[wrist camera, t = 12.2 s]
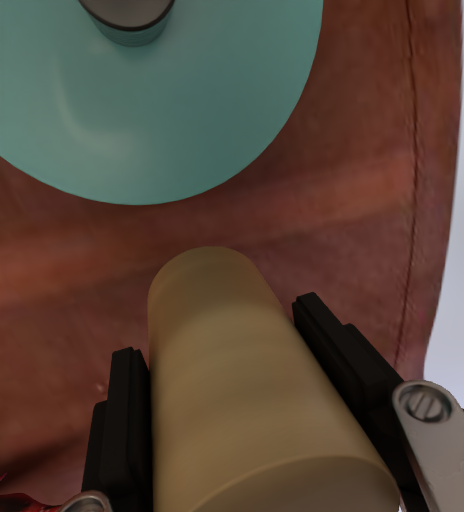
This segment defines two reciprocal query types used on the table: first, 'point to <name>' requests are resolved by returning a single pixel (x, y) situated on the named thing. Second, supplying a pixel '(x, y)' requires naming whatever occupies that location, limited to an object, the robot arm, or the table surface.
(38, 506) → the decorative bird figurine
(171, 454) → the cylinder
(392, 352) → the table surface
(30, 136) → the pot lid
